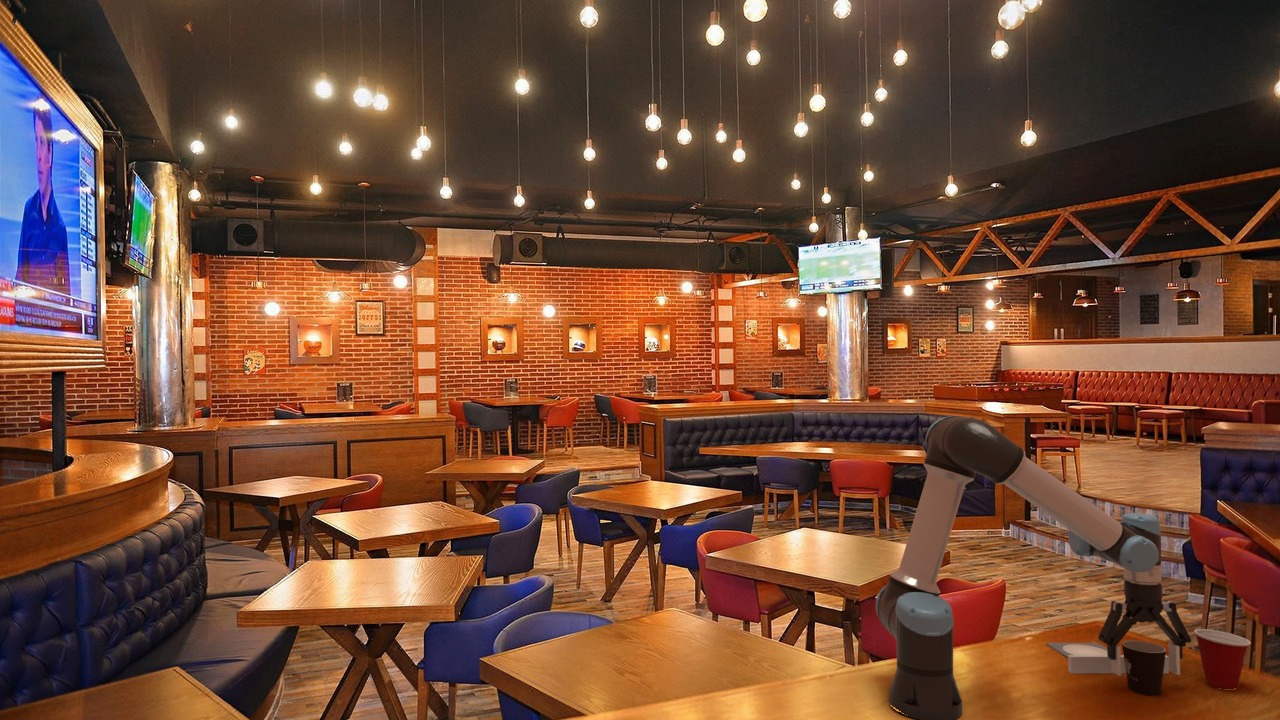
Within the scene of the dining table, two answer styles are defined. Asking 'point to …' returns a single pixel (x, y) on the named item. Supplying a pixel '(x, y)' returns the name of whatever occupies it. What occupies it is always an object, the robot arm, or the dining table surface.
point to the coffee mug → (1144, 666)
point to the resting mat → (1078, 648)
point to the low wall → (1098, 664)
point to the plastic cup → (1221, 657)
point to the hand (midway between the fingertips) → (1145, 673)
